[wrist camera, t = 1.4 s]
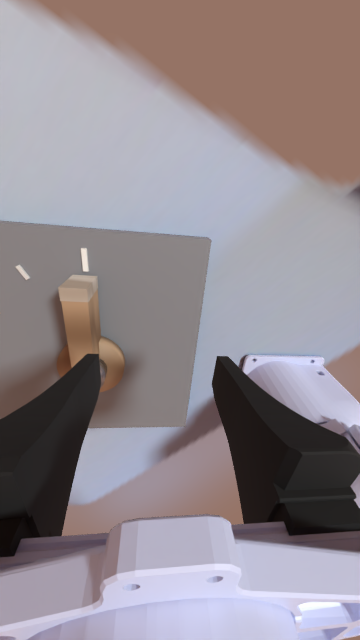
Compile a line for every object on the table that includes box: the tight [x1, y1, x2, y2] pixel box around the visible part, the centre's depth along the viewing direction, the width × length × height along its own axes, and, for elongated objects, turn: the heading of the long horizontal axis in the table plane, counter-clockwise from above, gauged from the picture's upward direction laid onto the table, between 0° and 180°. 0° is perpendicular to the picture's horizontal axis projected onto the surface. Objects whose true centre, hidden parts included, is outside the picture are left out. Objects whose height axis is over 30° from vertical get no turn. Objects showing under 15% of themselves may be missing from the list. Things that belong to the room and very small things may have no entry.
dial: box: [57, 275, 125, 392], centre depth 20 cm, size 12×6×3 cm, turn 175°
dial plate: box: [0, 221, 211, 428], centre depth 23 cm, size 22×22×2 cm
